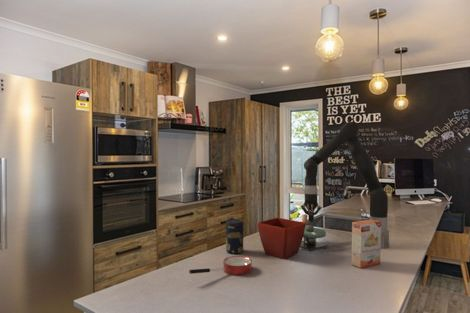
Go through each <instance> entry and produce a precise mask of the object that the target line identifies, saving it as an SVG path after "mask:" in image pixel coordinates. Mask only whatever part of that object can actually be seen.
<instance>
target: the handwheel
mask: <svg viewBox="0 0 470 313" xmlns="http://www.w3.org/2000/svg"><path fill="white" fill-rule="evenodd" d="M301 216H302V217H301V222H304V223H306V226H305V231H304V235H303V239H304V238H316V239H321V238H322V239H323V238H325V237H326V236H327V231H326V230H324V229H322V228H318V227H314V225H313V224H308V215H307V214H305V213H304V214H302V215H301Z"/></svg>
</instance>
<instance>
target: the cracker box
mask: <svg viewBox="0 0 470 313" xmlns="http://www.w3.org/2000/svg"><path fill="white" fill-rule="evenodd" d="M381 249H382V248H381V222H380V221H376V220H370V219H366V220H359V221H352V222H351V265H352V266H354V267H356V268H359V269H363V268H367V267H372V266H377V265H380V264H381Z"/></svg>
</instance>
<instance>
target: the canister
mask: <svg viewBox="0 0 470 313" xmlns="http://www.w3.org/2000/svg"><path fill="white" fill-rule="evenodd" d="M225 251H226V252H227V253H230V254H240V253H243V251H244V222H243V221H242V220H241V219H235V218H234V219H229V220H228V219H227V220H226V222H225Z"/></svg>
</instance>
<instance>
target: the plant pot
mask: <svg viewBox="0 0 470 313" xmlns="http://www.w3.org/2000/svg"><path fill="white" fill-rule="evenodd" d="M305 226H306V223H304V222H302V221H297V220H294V219H293V220H292V219H287V218H282V217H281V218H280V217H274V218H270V219H267V220H263V221H258V222H257V230H258V234H259V238H260V242H261V245H262V248H263V250H264V251H263V252H264V253H265V254H266V255H269V256H272V257H276V258H279V259H283V260H286V259H289V258H290V257H293V256H295V255H297V254H299V251H300V249H301V248H300V245H301V242H302V241H303V240H304V237H303V235H304V231H305Z"/></svg>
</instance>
